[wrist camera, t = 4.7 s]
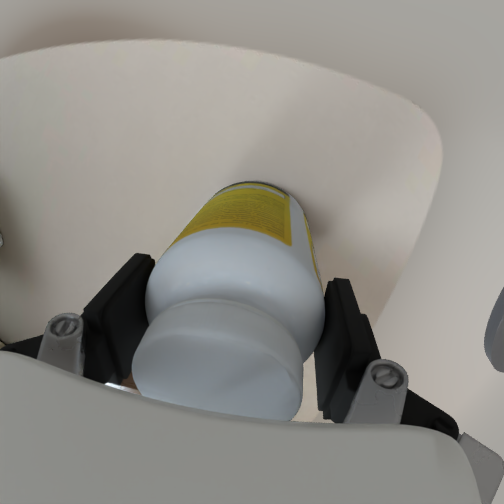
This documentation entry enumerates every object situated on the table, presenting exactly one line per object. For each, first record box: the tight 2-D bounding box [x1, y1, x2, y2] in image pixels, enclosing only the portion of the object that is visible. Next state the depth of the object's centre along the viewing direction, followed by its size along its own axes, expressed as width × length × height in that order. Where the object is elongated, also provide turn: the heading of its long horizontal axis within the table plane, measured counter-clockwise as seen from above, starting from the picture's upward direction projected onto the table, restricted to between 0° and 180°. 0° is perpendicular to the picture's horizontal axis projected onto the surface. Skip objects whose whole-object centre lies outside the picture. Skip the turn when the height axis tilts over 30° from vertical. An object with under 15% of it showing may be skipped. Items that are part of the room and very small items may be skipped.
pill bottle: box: [132, 181, 325, 421], centre depth 12 cm, size 6×6×12 cm
